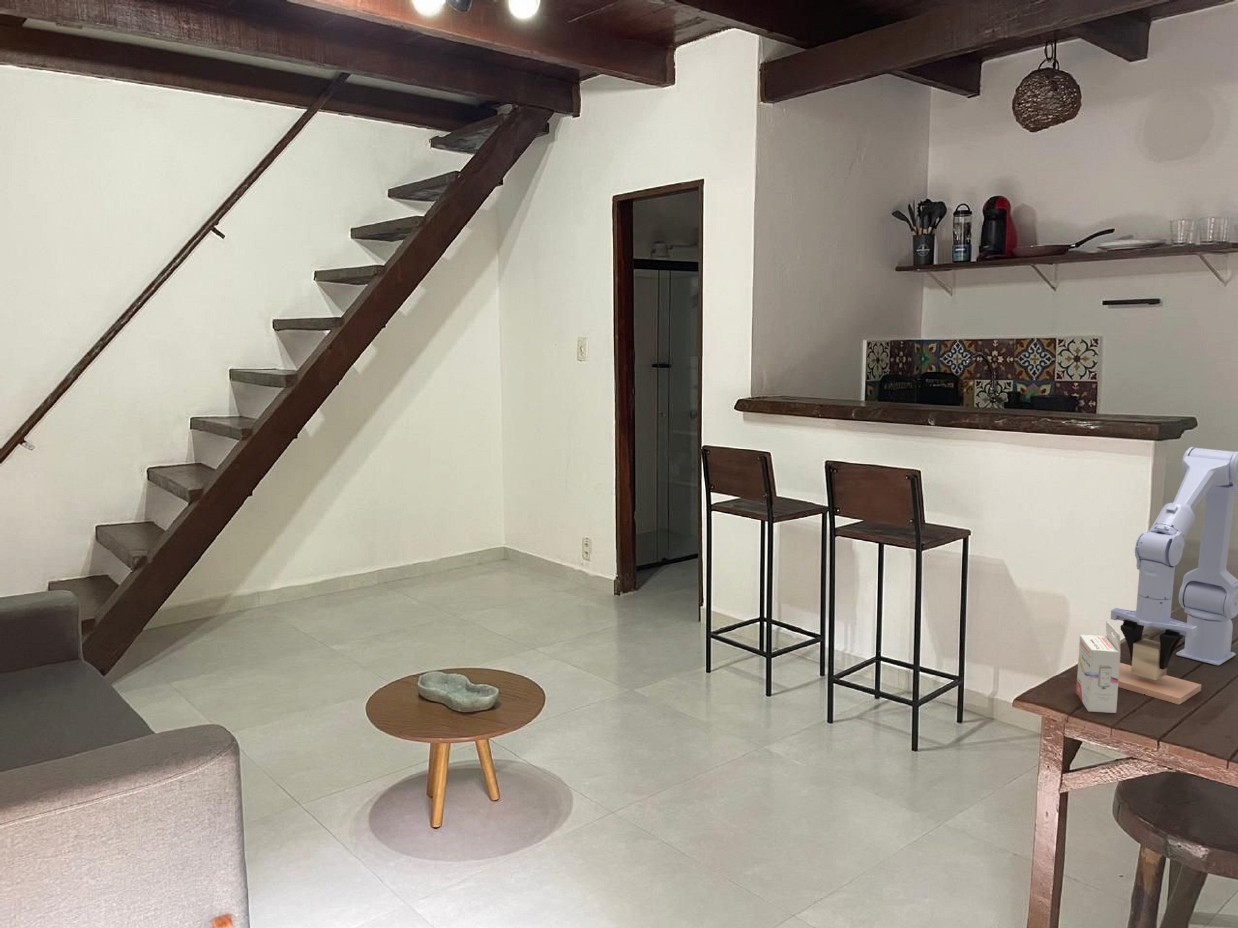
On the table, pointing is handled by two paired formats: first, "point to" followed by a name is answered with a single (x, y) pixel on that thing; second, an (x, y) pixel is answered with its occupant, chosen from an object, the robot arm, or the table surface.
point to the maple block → (1147, 659)
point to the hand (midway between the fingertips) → (1149, 663)
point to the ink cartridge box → (1099, 671)
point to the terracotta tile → (1157, 686)
